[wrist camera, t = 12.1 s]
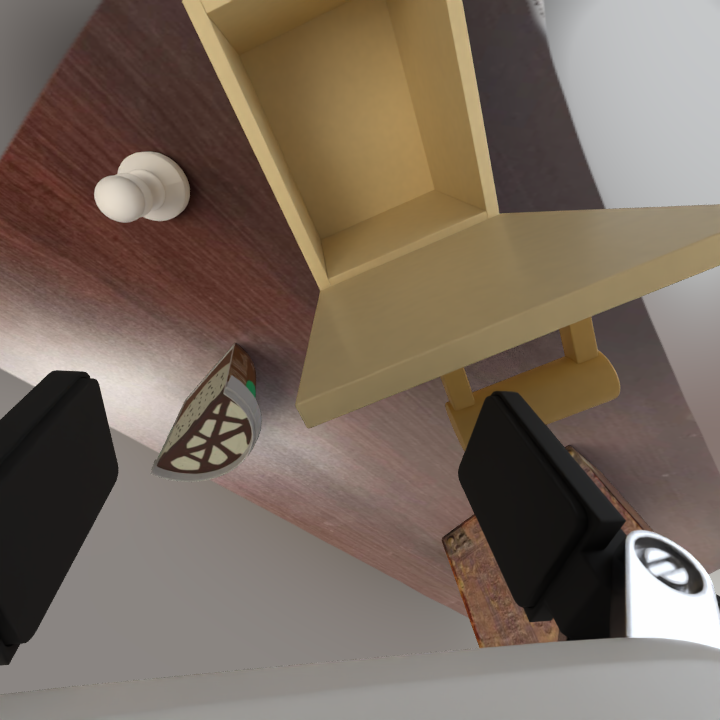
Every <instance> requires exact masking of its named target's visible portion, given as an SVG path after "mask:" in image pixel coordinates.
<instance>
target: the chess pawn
mask: <svg viewBox="0 0 720 720" xmlns="http://www.w3.org/2000/svg"><path fill="white" fill-rule="evenodd" d="M94 196H95V201H96V204H97V206H98V207H99V209H100V210H101V211H102V212H103V213H104V214H105V215H106V216H107V217H109V218H110V219H113V220H115V221H118V222H132V221H134V220H137V219H138V218H139V217H145V218H147V219H149V220H155V221H166V220H169V219H172V218H174V217H176V216H177V215H179V214H180V213H181V212H182V211H183V210H184V209H185V208H186V206H187V204H188V202H189V198H190V187H189V183H188V180H187V178H186V176H185V174H184V172H183V170H182V169H181V168H180V167H179V166H178V165H177V163H175V162H174V161H173V160H172V159H170V158H169V157H167V156H165V155H163V154H161V153H157V152H151V151H149V152H138V153H134V154H132V155H129V156H128V157H127V158H126V159H124V160H123V161H122V163H121V165H120V167H119V169H118V174H117V175H114V176H108V177H105V178H103V179H102V180H100V181H99V182H98V184H97V185H96V187H95V192H94Z"/></svg>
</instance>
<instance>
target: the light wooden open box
mask: <svg viewBox="0 0 720 720" xmlns="http://www.w3.org/2000/svg"><path fill="white" fill-rule="evenodd" d="M182 2H183V5H184V7H185V9H186V11H187V13H188V15H189V17H190V19H191V21H192V23H193V25H194V28H195V30H196V32H197V34H198V36H199V38H200V40H201V42H202V44H203V46H204V48H205V51H206V53H207V55H208V57H209V59H210V61H211V63H212V65H213V67H214V69H215V71H216V74H217V76H218V78H219V80H220V82H221V84H222V86H223V88H224V90H225V92H226V94H227V96H228V99H229V101H230V103H231V105H232V107H233V109H234V111H235V113H236V115H237V117H238V119H239V122H240V124H241V126H242V128H243V130H244V132H245V134H246V136H247V138H248V140H249V142H250V145H251V147H252V149H253V151H254V153H255V155H256V157H257V159H258V161H259V163H260V165H261V168H262V170H263V172H264V174H265V176H266V178H267V180H268V182H269V184H270V186H271V188H272V190H273V193H274V195H275V197H276V199H277V201H278V203H279V205H280V207H281V209H282V211H283V213H284V216H285V218H286V220H287V222H288V224H289V226H290V228H291V230H292V232H293V234H294V236H295V239H296V241H297V243H298V245H299V247H300V249H301V251H302V253H303V255H304V257H305V259H306V261H307V264H308V266H309V268H310V270H311V272H312V274H313V276H314V278H315V280H316V282H317V284H318V287H319V289H320V291H322V290H324V289H326V288H328V287H331V286H333V285H335V284H338V283H340V282H342V281H345V280H347V279H349V278H352V277H354V276H356V275H359V274H361V273H363V272H366V271H368V270H370V269H373V268H375V267H377V266H380V265H382V264H384V263H387V262H389V261H391V260H394V259H396V258H398V257H401V256H403V255H405V254H408V253H410V252H412V251H415V250H417V249H419V248H422V247H424V246H426V245H429V244H431V243H433V242H436V241H438V240H440V239H443V238H445V237H447V236H450V235H452V234H454V233H457V232H459V231H461V230H464V229H466V228H468V227H471V226H473V225H475V224H478V223H480V222H482V221H485V220H487V219H489V218H492V217H494V216H496V215H499V209H498V203H497V197H496V192H495V186H494V180H493V174H492V169H491V163H490V157H489V151H488V146H487V140H486V134H485V129H484V123H483V117H482V111H481V106H480V100H479V94H478V88H477V83H476V77H475V71H474V66H473V60H472V54H471V48H470V43H469V37H468V31H467V25H466V20H465V14H464V8H463V2H462V0H182Z"/></svg>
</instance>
